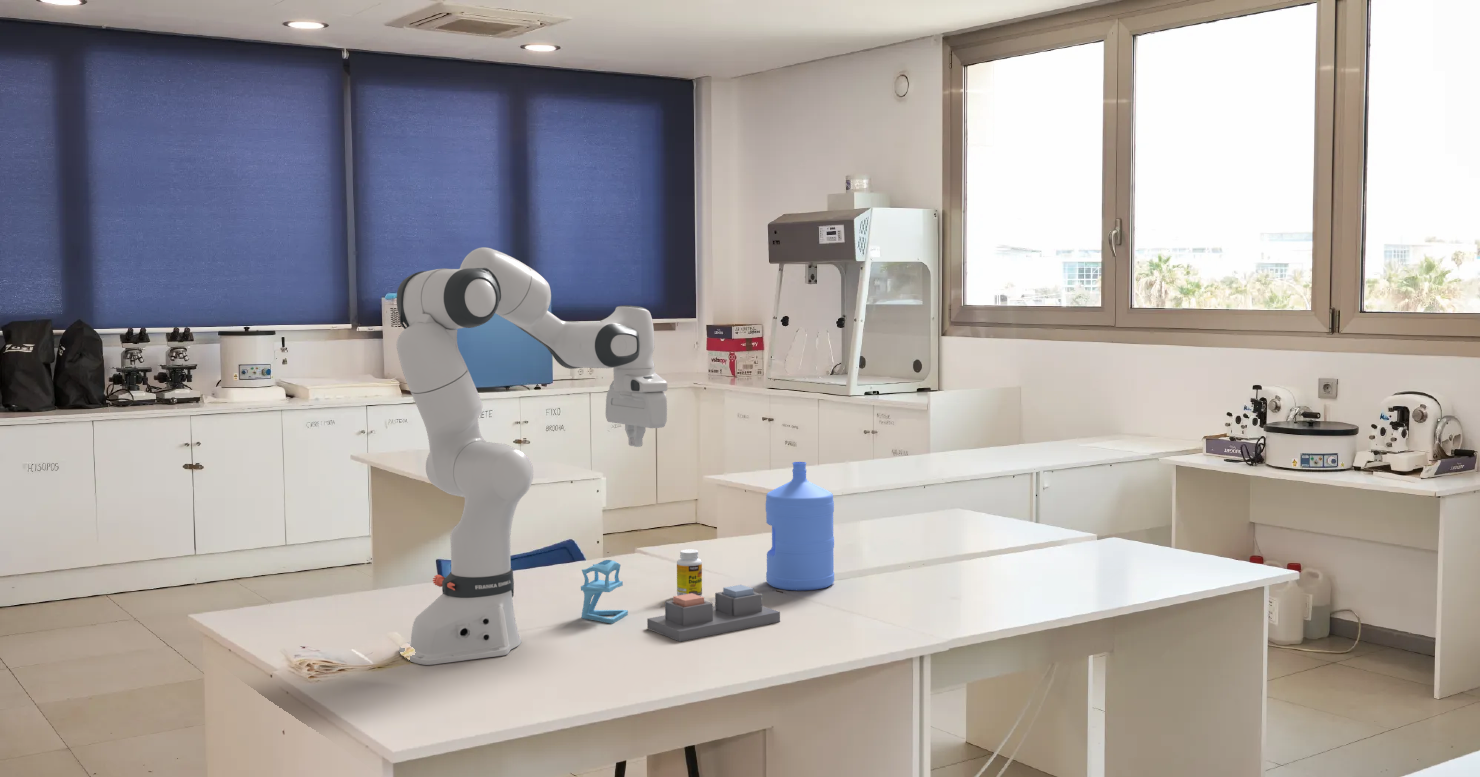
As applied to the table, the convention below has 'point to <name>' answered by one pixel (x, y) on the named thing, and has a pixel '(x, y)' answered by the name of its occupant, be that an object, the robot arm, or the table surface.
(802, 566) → the water jug
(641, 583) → the table surface
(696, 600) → the terracotta key
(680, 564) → the supplement bottle
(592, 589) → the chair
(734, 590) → the slate key
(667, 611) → the grey piece
